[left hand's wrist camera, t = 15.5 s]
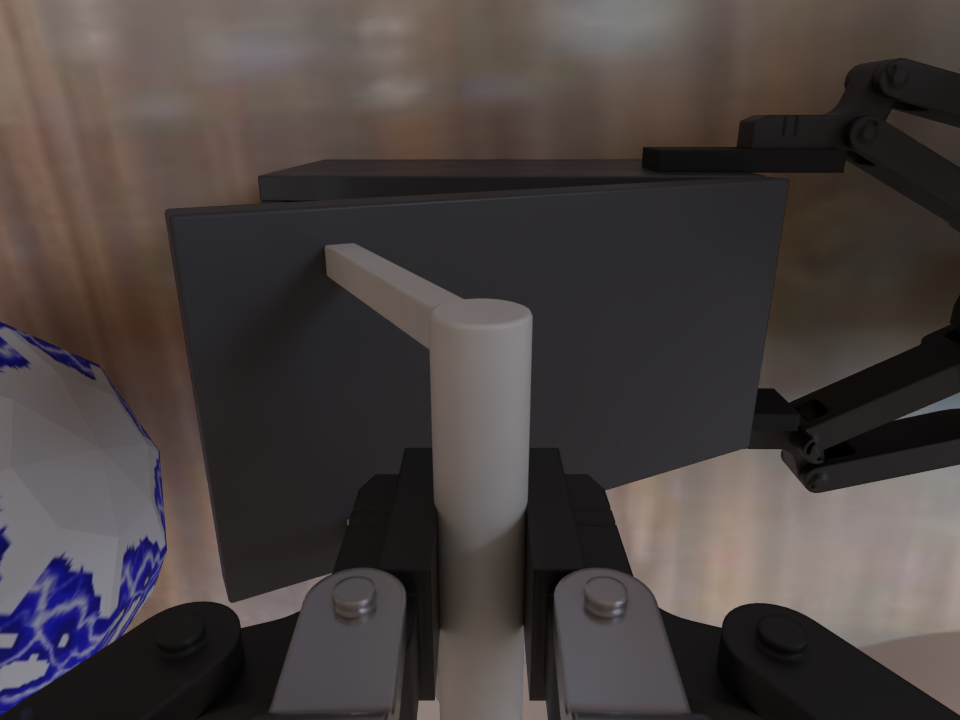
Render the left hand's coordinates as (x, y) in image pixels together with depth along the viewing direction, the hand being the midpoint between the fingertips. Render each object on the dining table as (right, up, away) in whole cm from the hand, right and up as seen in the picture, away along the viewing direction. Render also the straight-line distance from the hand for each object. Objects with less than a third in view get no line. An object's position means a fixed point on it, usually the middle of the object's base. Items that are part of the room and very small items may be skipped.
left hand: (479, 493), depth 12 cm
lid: (+1, +3, +7) cm, 8 cm away
